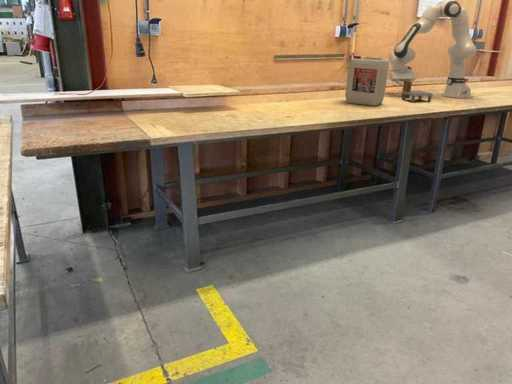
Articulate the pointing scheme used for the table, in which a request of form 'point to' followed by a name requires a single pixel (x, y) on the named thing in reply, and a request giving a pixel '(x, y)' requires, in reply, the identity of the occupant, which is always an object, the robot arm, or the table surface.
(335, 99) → the table surface
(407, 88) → the walnut post
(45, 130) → the table surface
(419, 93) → the step stool
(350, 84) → the jerry can
